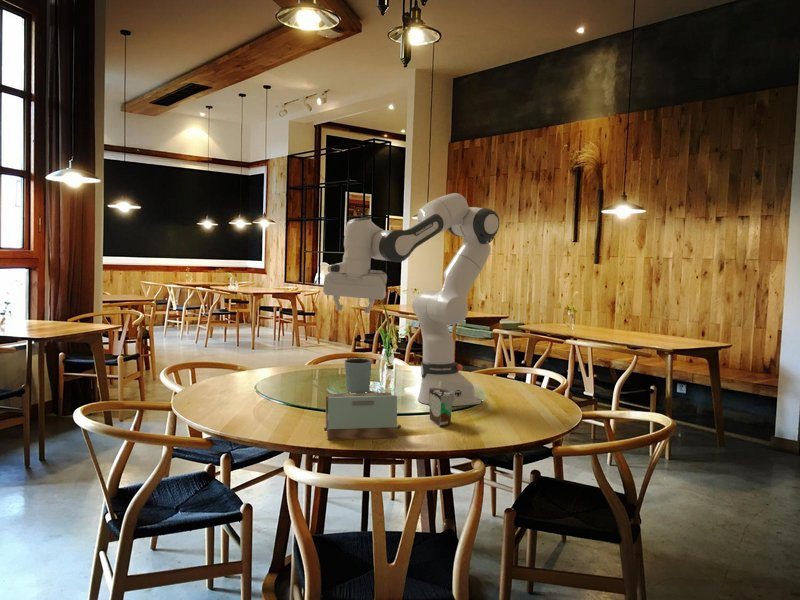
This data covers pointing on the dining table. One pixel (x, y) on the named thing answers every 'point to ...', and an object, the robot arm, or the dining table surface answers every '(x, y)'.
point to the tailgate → (362, 412)
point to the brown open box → (359, 432)
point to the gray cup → (358, 375)
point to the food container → (441, 406)
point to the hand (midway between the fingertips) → (353, 311)
